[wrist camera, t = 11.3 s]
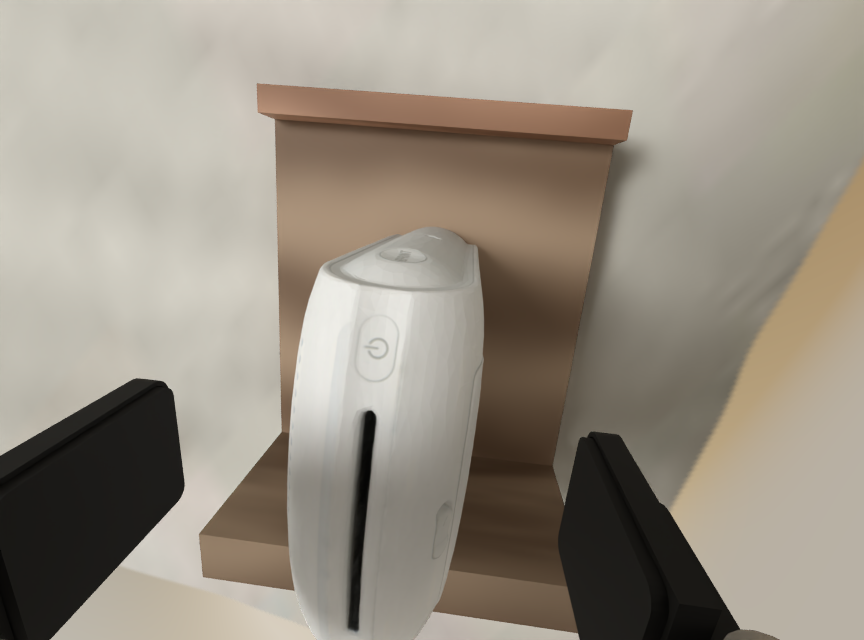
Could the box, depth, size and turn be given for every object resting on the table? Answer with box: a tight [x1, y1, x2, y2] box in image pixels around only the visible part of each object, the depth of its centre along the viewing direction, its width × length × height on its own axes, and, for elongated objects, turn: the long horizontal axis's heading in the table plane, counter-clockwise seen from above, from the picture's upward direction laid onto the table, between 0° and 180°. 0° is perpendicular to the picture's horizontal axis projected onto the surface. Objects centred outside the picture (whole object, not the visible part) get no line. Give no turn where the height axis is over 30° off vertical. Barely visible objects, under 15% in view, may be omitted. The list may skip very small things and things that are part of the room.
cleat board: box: [199, 84, 633, 633], centre depth 18 cm, size 18×14×10 cm
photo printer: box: [287, 227, 484, 640], centre depth 14 cm, size 10×4×12 cm, turn 173°
